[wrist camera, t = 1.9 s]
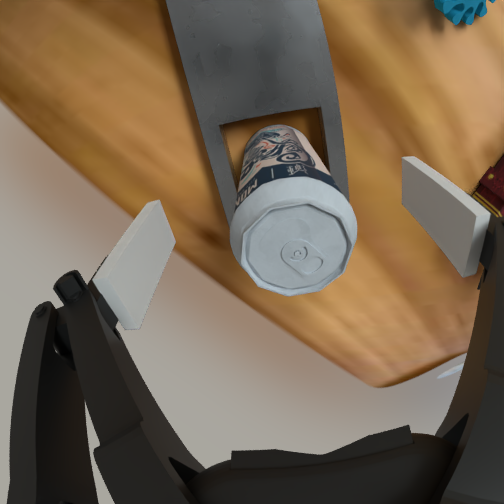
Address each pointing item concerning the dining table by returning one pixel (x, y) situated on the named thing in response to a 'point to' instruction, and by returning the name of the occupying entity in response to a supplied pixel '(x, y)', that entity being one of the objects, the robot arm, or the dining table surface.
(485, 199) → the decorative book
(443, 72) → the dining table surface
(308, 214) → the beer can
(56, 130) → the dining table surface
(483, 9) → the gear
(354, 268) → the dining table surface
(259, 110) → the rail
